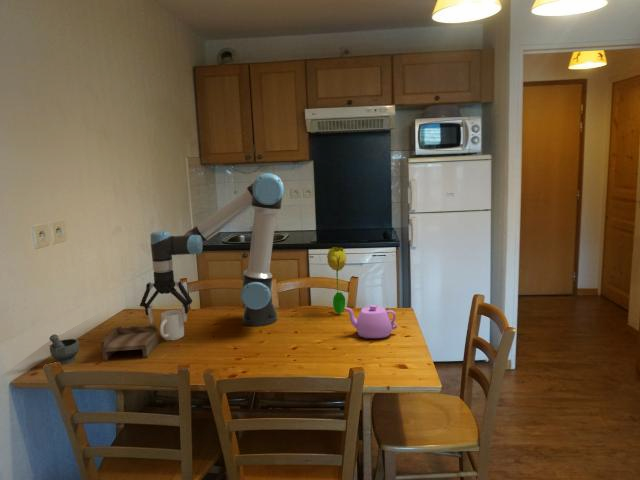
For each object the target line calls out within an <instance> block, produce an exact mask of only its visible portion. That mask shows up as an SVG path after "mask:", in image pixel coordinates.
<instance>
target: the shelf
mask: <svg viewBox="0 0 640 480" xmlns="http://www.w3.org/2000/svg"><path fill="white" fill-rule="evenodd" d="M159 340H160V339H159V332H158V325H157V324H148V325H136V326H135V325H134V326H133V325H132V326H121V327H120V326H118V327H115V328H114V329H112V330H111V331H110V332H109V333H108V334H107V335H106V336H105V337H104V338H103V339H102V340H101V341H100V347H101V354H102V361H103V362H108V361H109V360H110V358H112V357H113V356H114V355H115V353H116V352H118V351H134V350H141V351H142V358H143V357H148V358H149V356H150V355H151V354H152V352H153V351H154V350H155V349H156V347H157V346H158V345H159V342H160V341H159ZM153 349H154V350H153ZM152 350H153V351H152ZM150 353H151V354H150ZM149 354H150V355H149Z"/></svg>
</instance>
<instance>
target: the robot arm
mask: <svg viewBox="0 0 640 480" xmlns="http://www.w3.org/2000/svg"><path fill="white" fill-rule="evenodd" d="M284 189H285V188H284V183H283V181H282V179H281V178H280V177H279V176H278V175H276V173H272V172H265V173H261V174H260V175H258V176H257V177H256V178H255V180H254V181H253V183H251V184H250V185H249V186H247V187H246V189H245V191H244V192H243V193H241V194H240V195H238V196H237V197H236V198H234V199H233V200H231V201H230V202H229V203H226V205H224V206H223V207H221V208H220V209H219V210H217V211H216V212H215V213H213V214H211V215H210V216H209V217H207V218H206V219H204V220H203V221H201V222H200V223H198V224H197V225H196V226H194V227H193V228H192V229H190V230H188V231H187V232H185V234H183V235H171V233H170V231H167V230H160V231H159V230H158V231H154V232H152V233H151V234H150V235H149V236H150V237H149V238H150V252H151V257H152V258H151V260H152V270H153V283H152V282H151V281H150V282H149V281H148V282H147V283H146V284H145V285H146V287H145V291H144V293H143V296H142V299H141V300H140V303H139V307H143V308H144V309H145V315H146V316H148V325H152V323H153V322H154V319H153V306H152V305H151V304H152V303H153V301H154V300H155V298H156V297H157V296H158V294H161V295H164V294H171V295H173V296H174V297H175V298H176V299H177V300H178V301H179V302H180V303H181V304H182V305H181V309H182V310H181V311H182V317H183V323H185V322H187V320H188V317H187V316H188V315H187V314H188V313H189V310H190V309H189V305H191V304H192V303H193V299H192V297H191V296H190V294H189V293H188V291H187V289H186V288H185V286H184V283H183V280H180V281H175V275H174V274H175V273H174V270H173V269H174V266H173V265H174V264H173V263H174V262H173V256H180V255H181V256H183V255H192V256H193V255H197V254H201V253H202V252H203V247H204V246H203V245H204V243H205V242H208V241H209V240H210V239H212V238H213V237H214V236H215V235H217V234H219V233H220V232H221V231H224V229H226V228H228V226H230V225H231V224H233V223H234V222H236V221H237V220H239V219H240V218H242V217H243V216H245V215H246V214H247V213H249V212H250V211H252V210H253V211H254V214H253V223H252V231H251V232H252V234H251V241H250V248H249V249H250V251H249V259H248V266H247V267H248V268H247V269H246V270H244V271H243V272H242V285H241V286H242V287H241V291H240V298H241V301H242V303H243V304H244V310H243V313H242V323H243V324H244V325H246V326H248V327H249V326H251V327H261V326H267V325H271V324H274V323H275V322H277V321H278V313H277V310H276V308H275V305H274V303H273V296H272V295H273V293H272V284H273V274H272V273H271V272H270V270H271V269H270V268H271V262H272V259H271V258H272V251H273V243H274V236H275V229H276V218H277V213H278V212H279V211H281V209H282V202H283V201H282V200H283V195H284V191H285V190H284ZM153 287H154V289H155V291H154V293H153V294H152V295H151V296H150V295H149V294H150V292H151V289H153ZM175 287H177V288H178V289H179V290H180V292H181V294H180V292H178V290H177V289H176V288H175ZM182 295H183V296H182ZM149 296H150V298H149V299H148V297H149Z"/></svg>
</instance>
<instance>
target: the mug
mask: <svg viewBox="0 0 640 480" xmlns="http://www.w3.org/2000/svg"><path fill="white" fill-rule="evenodd" d="M160 319H161V320H160V321H161V323H160V326H159V333H160V336H161V337H162V338H163V339H164V340H165V341H169V340H171V341H176V340H179V339H183V337H185V328H184V327H185V326H184V322H183V311H182V310H180V309H171V310H165V311H164V312H161V314H160Z"/></svg>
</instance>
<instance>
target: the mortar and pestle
mask: <svg viewBox="0 0 640 480" xmlns="http://www.w3.org/2000/svg"><path fill="white" fill-rule="evenodd" d="M49 341H50V342H51V344H49V345H48V346H49V352H50V354H51V355H50V356H52V357H53V358H54V359H55V360H56V361H57V362H60V363H61V364H62V365H63V366H64V365H69V364H72V363H74V362H76V359H77V358H76V355H77V354H78V353H79V349H80V348H79V347H80V343H79V339H78V338H77V339H76V338H66V339H62V340H60V338H59V335H58V334H56V333H55V334H52V335H50V337H49ZM62 365H61V366H62Z"/></svg>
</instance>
